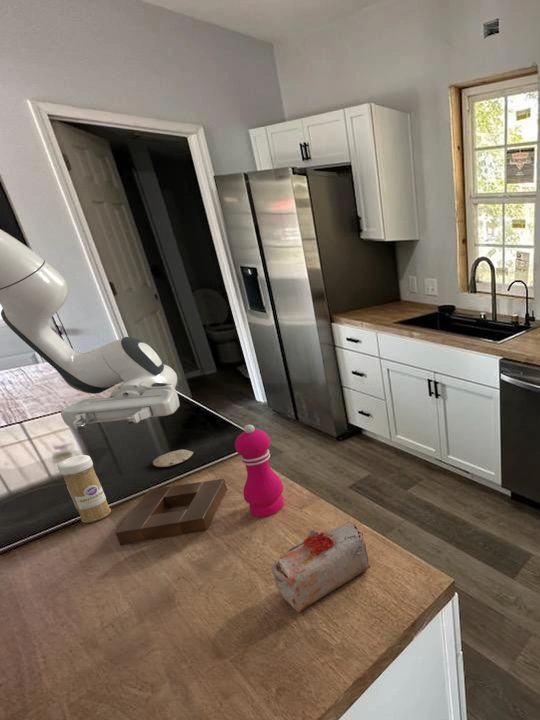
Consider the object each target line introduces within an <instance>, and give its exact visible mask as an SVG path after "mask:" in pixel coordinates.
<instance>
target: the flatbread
mask: <svg viewBox="0 0 540 720" xmlns="http://www.w3.org/2000/svg"><path fill="white" fill-rule="evenodd" d="M193 455H194V451H191V450H188V449H178V450H173V451H169V452H167V453H164V454H162V455H160V456H158V457H156V458H155V459H154V460H152V465H153V466H155V467H157V468H168V467H173V466H176V465H178V464H181V463H184V462H185V461H187V460H189V459H190V458H191V457H192V456H193Z"/></svg>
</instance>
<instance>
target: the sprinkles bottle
mask: <svg viewBox="0 0 540 720" xmlns="http://www.w3.org/2000/svg"><path fill="white" fill-rule="evenodd" d="M57 469H58V471H59V474H60V475H61V476H62V477H63V480H64V482H65V484H66V488H67V490H68V493H69V495H70V497H71V501H73V504H74V506H75V508H76V510H77V512H78V513H79V516H80V522H83V524H89V523H94V522H95V523H96V522H98V521H101V520H103V519H104V518H106V517H108V516H109V515H110V514H111V512H112V509H111V508H110V506H109V505H110V504H109V503H108V501H107V497H106V494H105V492H104V489H103V487H102V484H101V482H100V480H99V478H98V476H97V474H96V471H95V469H94V462H93V460H92V458H91V456H89V455H87V454H80V455H75V456H71V457H68V458H65V459H63V460H61V461H60V462H59V463H57Z"/></svg>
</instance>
